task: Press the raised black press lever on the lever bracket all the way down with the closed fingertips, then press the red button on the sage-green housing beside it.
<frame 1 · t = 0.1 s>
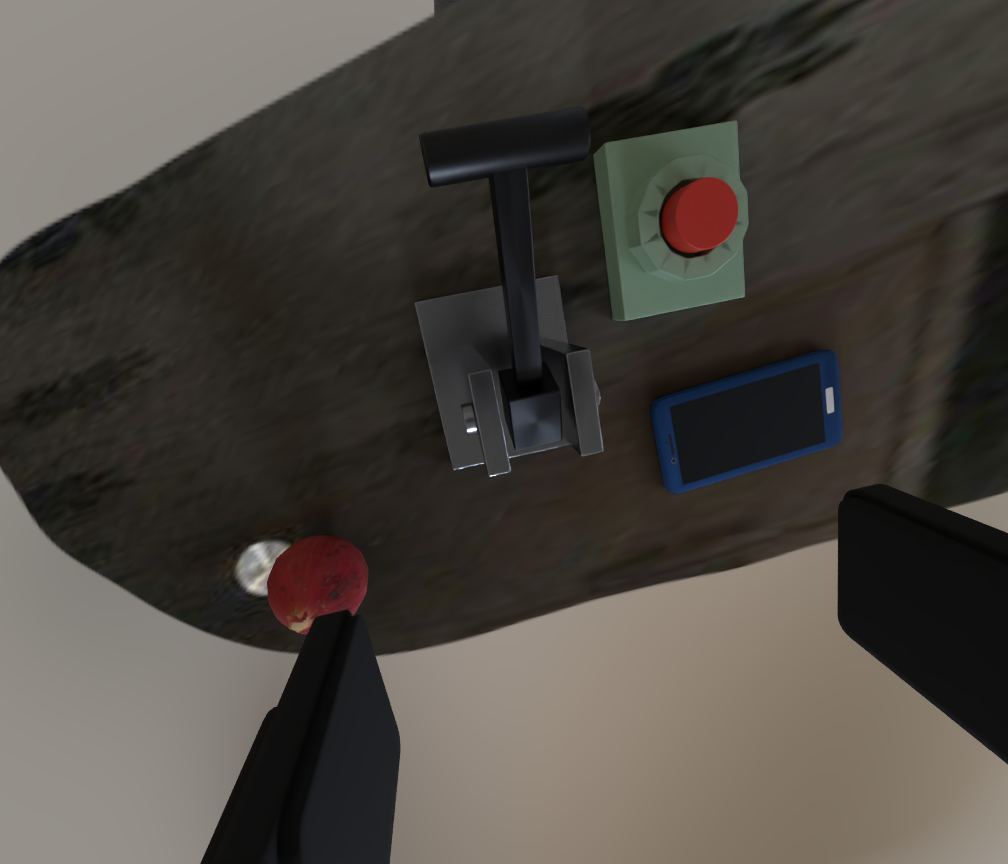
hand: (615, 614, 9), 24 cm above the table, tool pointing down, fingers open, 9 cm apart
button housing: (662, 230, 30), on the table
cell phone: (743, 420, 35), on the table
lever bracket: (501, 373, 32), on the table
press lever: (520, 308, 18), point 13 cm above the table, hinge at 25.0°
red button: (699, 216, 26), point 4 cm above the table, slide at 0.1 cm
onion: (333, 551, 33), on the table
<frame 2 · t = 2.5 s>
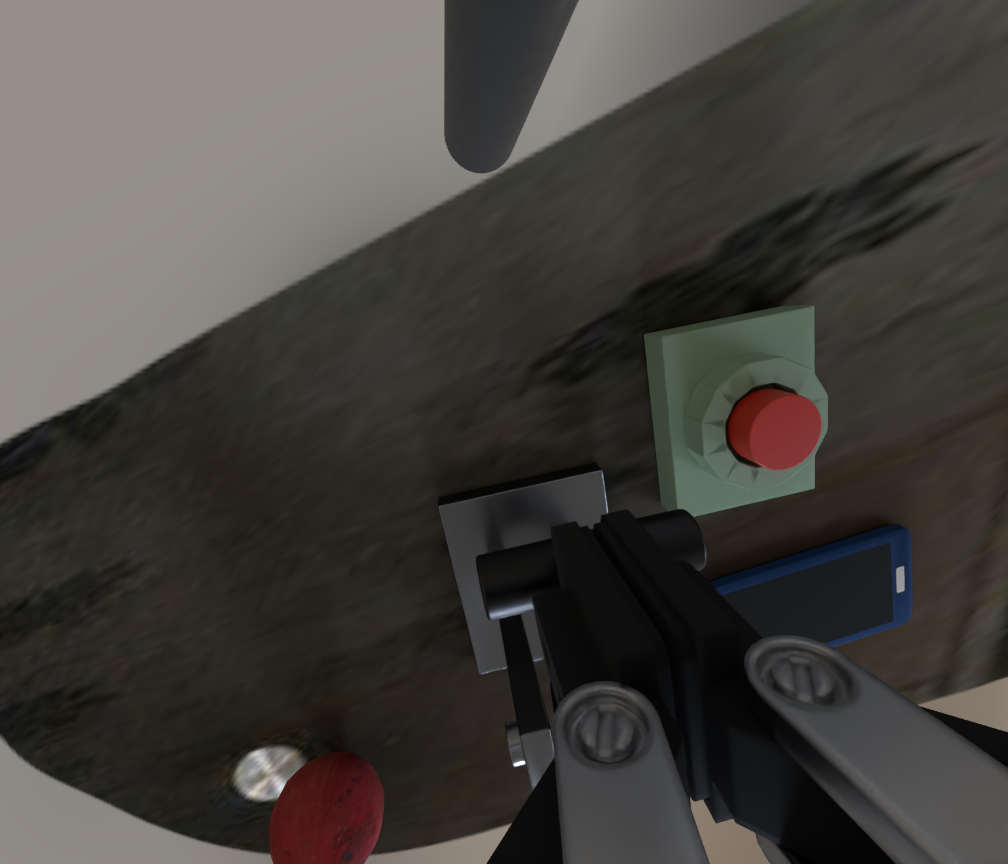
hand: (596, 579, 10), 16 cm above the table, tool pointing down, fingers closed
button housing: (719, 409, 27), on the table
cell phone: (802, 598, 31), on the table
lever bracket: (533, 565, 28), on the table
press lever: (588, 666, 14), point 13 cm above the table, hinge at 23.8°, touching gripper
red button: (773, 428, 22), point 4 cm above the table, slide at 0.1 cm
onion: (343, 752, 30), on the table
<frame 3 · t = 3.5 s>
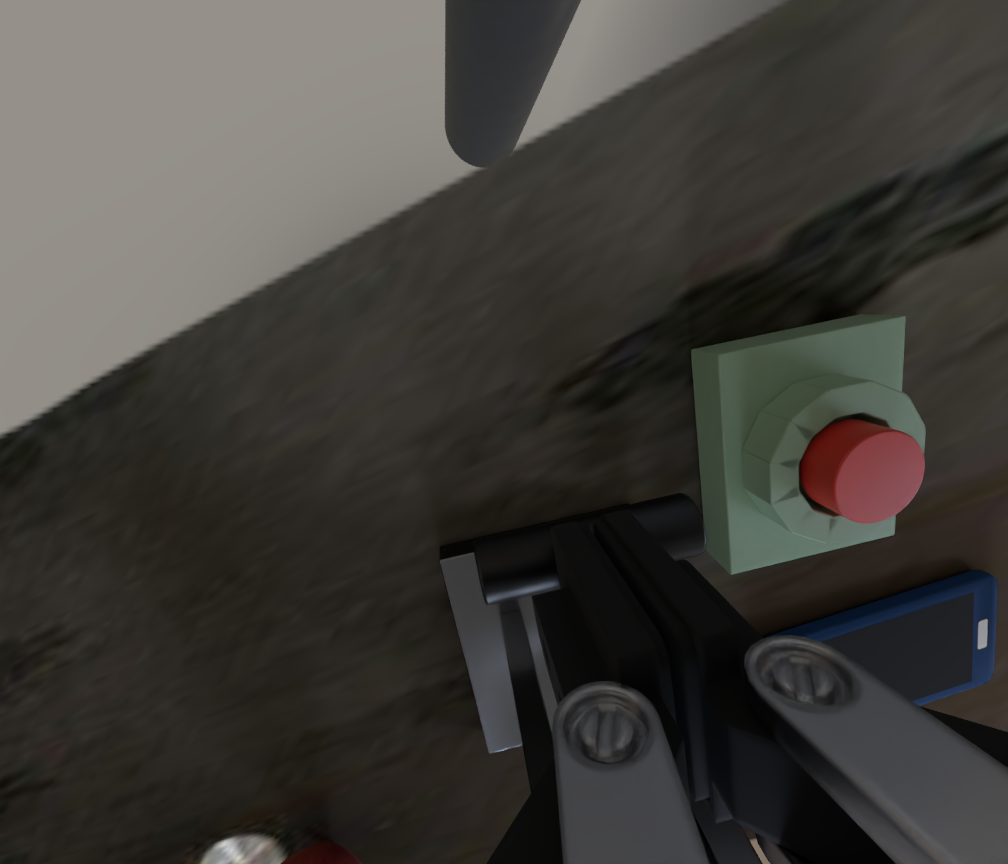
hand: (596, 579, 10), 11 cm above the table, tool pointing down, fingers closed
button housing: (778, 438, 22), on the table
cell phone: (866, 655, 26), on the table
lever bracket: (553, 623, 23), on the table
press lever: (620, 742, 12), point 11 cm above the table, hinge at -4.6°, touching gripper
red button: (859, 470, 18), point 4 cm above the table, slide at 0.1 cm
onion: (328, 838, 25), on the table
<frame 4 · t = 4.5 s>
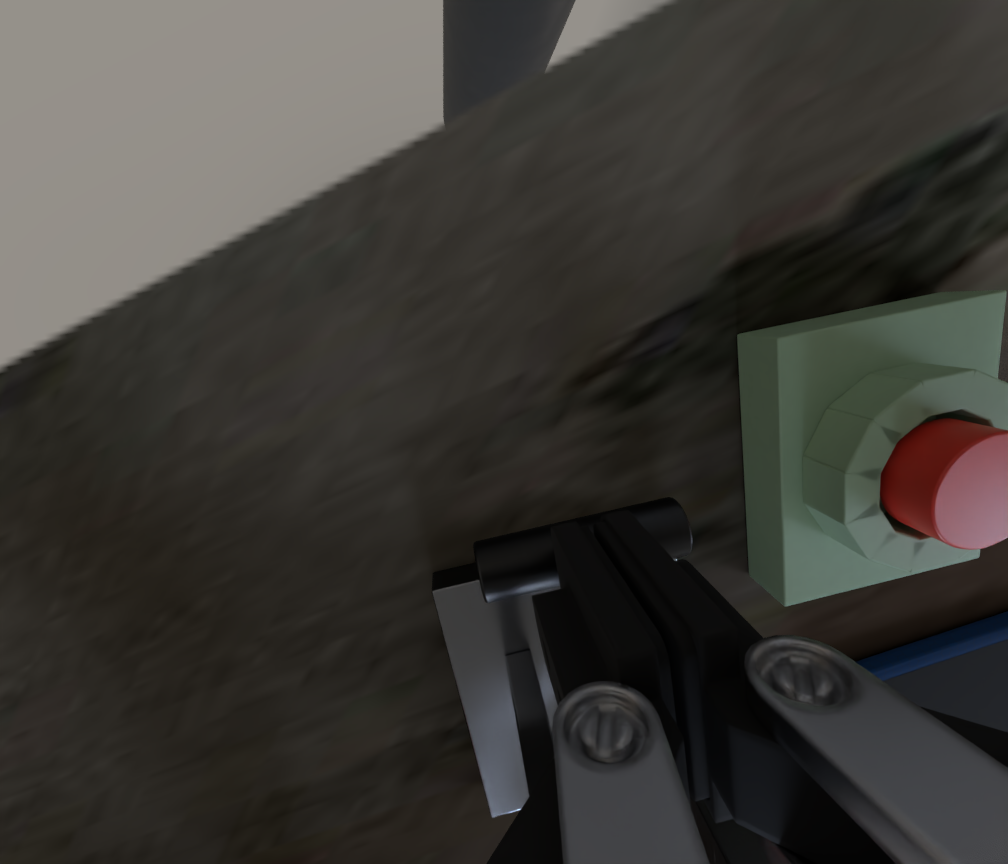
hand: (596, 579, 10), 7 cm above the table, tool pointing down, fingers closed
button housing: (838, 441, 19), on the table
cell phone: (929, 693, 23), on the table
lever bracket: (568, 661, 20), on the table
press lever: (644, 799, 10), point 9 cm above the table, hinge at -29.4°, touching gripper
red button: (958, 482, 14), point 4 cm above the table, slide at 0.1 cm
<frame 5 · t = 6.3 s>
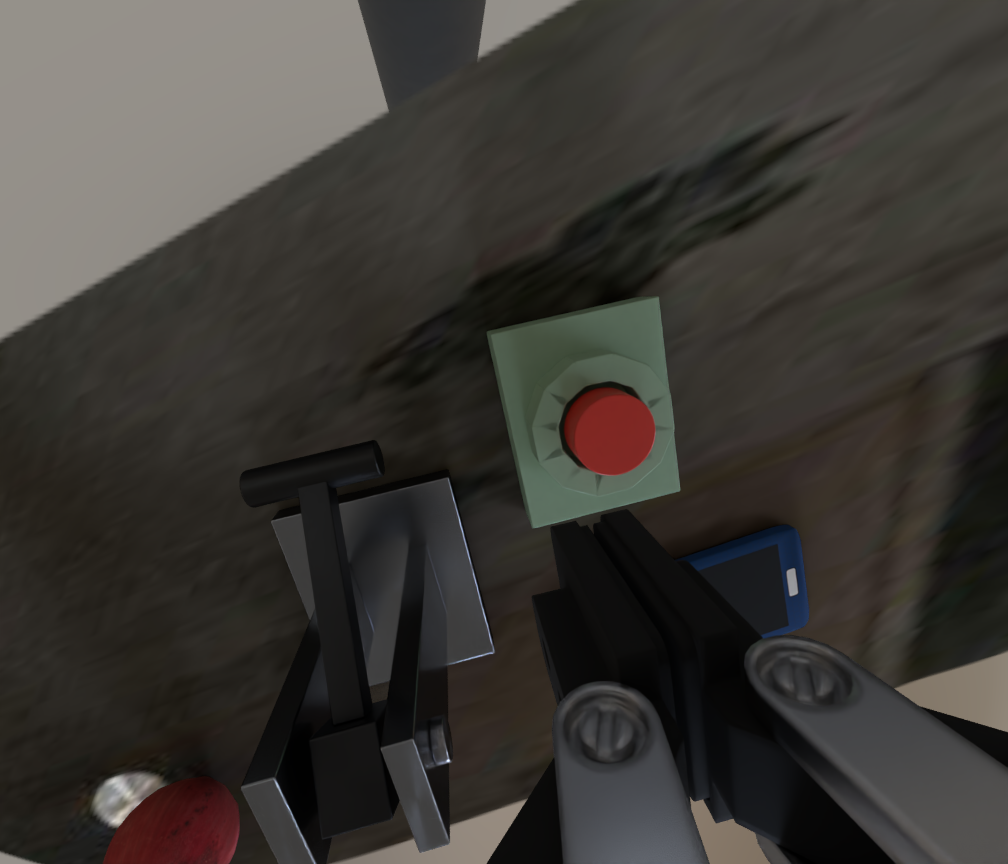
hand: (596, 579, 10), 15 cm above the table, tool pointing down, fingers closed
button housing: (580, 408, 25), on the table
cell phone: (691, 604, 29), on the table
lever bracket: (393, 578, 26), on the table
press lever: (337, 617, 17), point 9 cm above the table, hinge at -29.6°
red button: (608, 430, 21), point 4 cm above the table, slide at 0.1 cm
onion: (209, 776, 28), on the table
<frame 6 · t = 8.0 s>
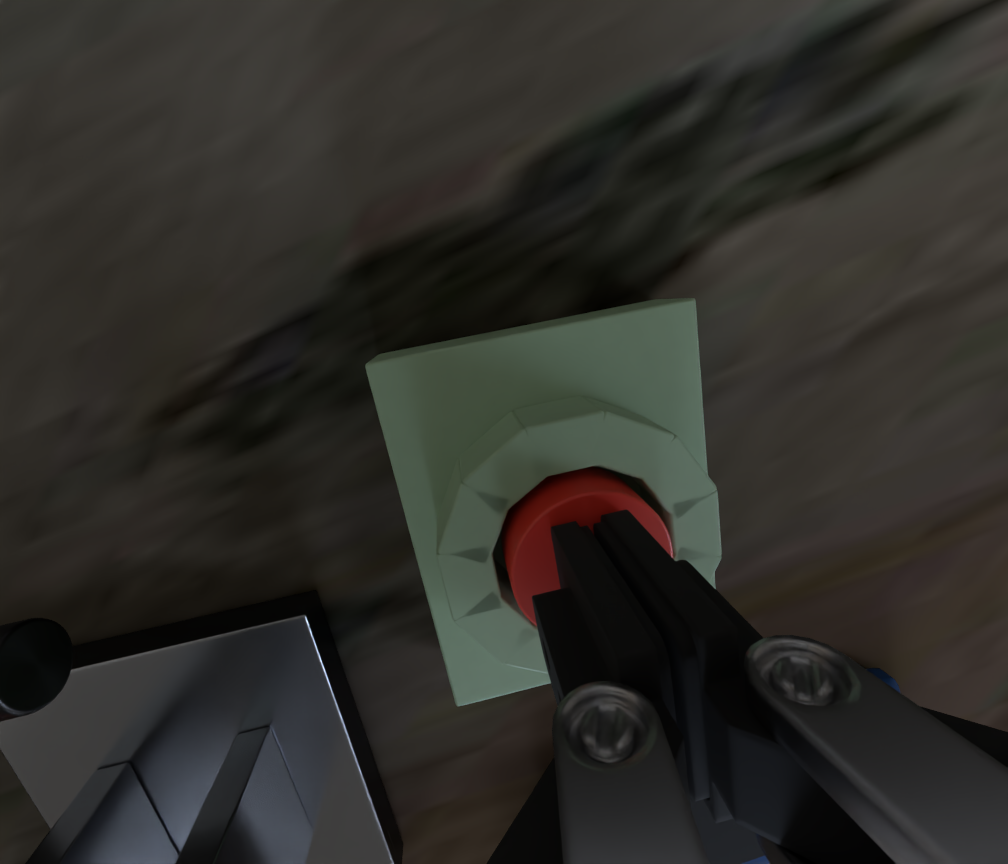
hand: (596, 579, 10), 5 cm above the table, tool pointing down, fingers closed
button housing: (547, 489, 15), on the table
cell phone: (722, 783, 19), on the table
lever bracket: (228, 762, 16), on the table
red button: (582, 550, 11), point 4 cm above the table, slide at -0.6 cm, touching gripper
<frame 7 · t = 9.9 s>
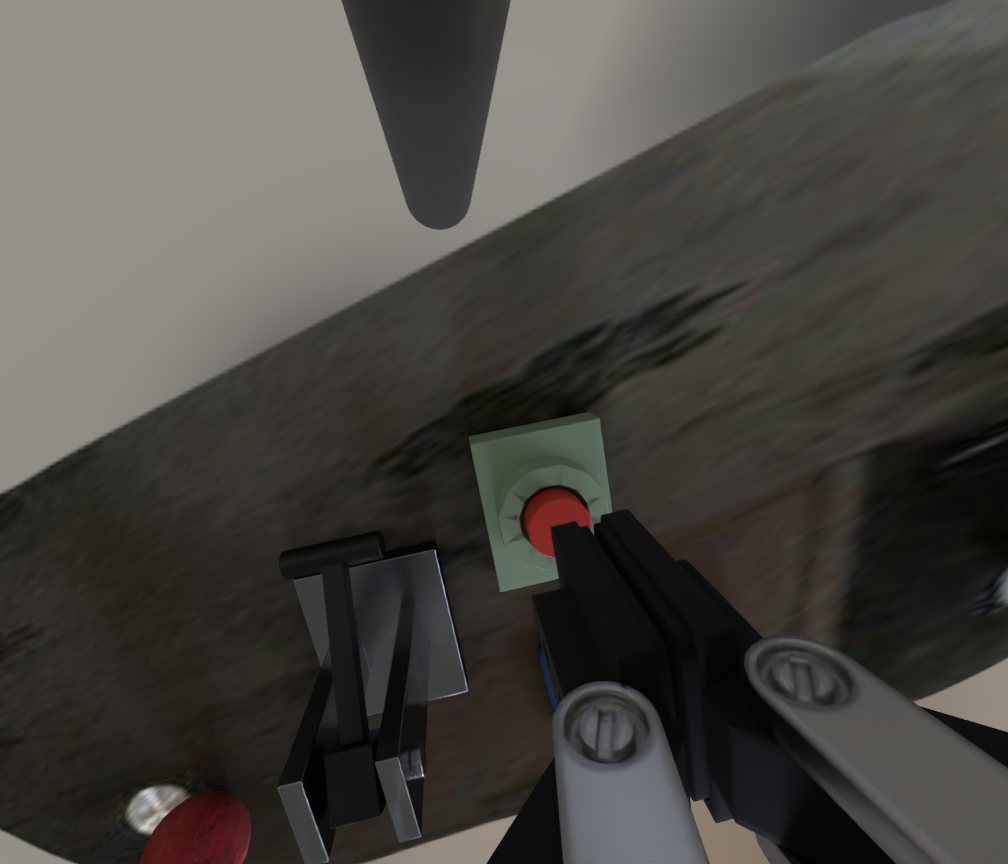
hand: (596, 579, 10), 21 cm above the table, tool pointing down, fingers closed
button housing: (541, 495, 32), on the table
cell phone: (634, 654, 35), on the table
lever bracket: (387, 627, 32), on the table
press lever: (346, 665, 23), point 9 cm above the table, hinge at -29.6°
red button: (557, 522, 27), point 4 cm above the table, slide at 0.1 cm
onion: (225, 790, 34), on the table
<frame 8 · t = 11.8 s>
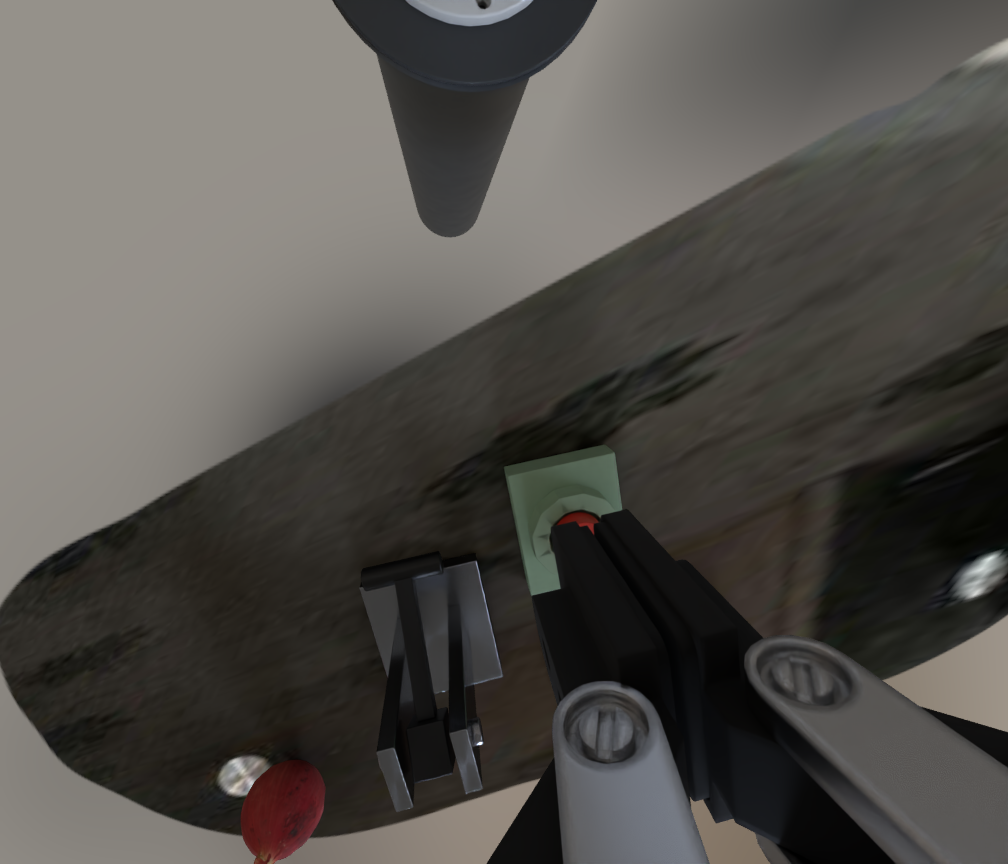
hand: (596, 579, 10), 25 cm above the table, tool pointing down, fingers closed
button housing: (564, 514, 37), on the table
lever bracket: (434, 624, 38), on the table
press lever: (417, 659, 29), point 9 cm above the table, hinge at -29.6°
red button: (580, 540, 33), point 4 cm above the table, slide at 0.1 cm
onion: (299, 760, 40), on the table
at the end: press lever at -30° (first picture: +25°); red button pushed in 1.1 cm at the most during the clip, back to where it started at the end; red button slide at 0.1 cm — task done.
